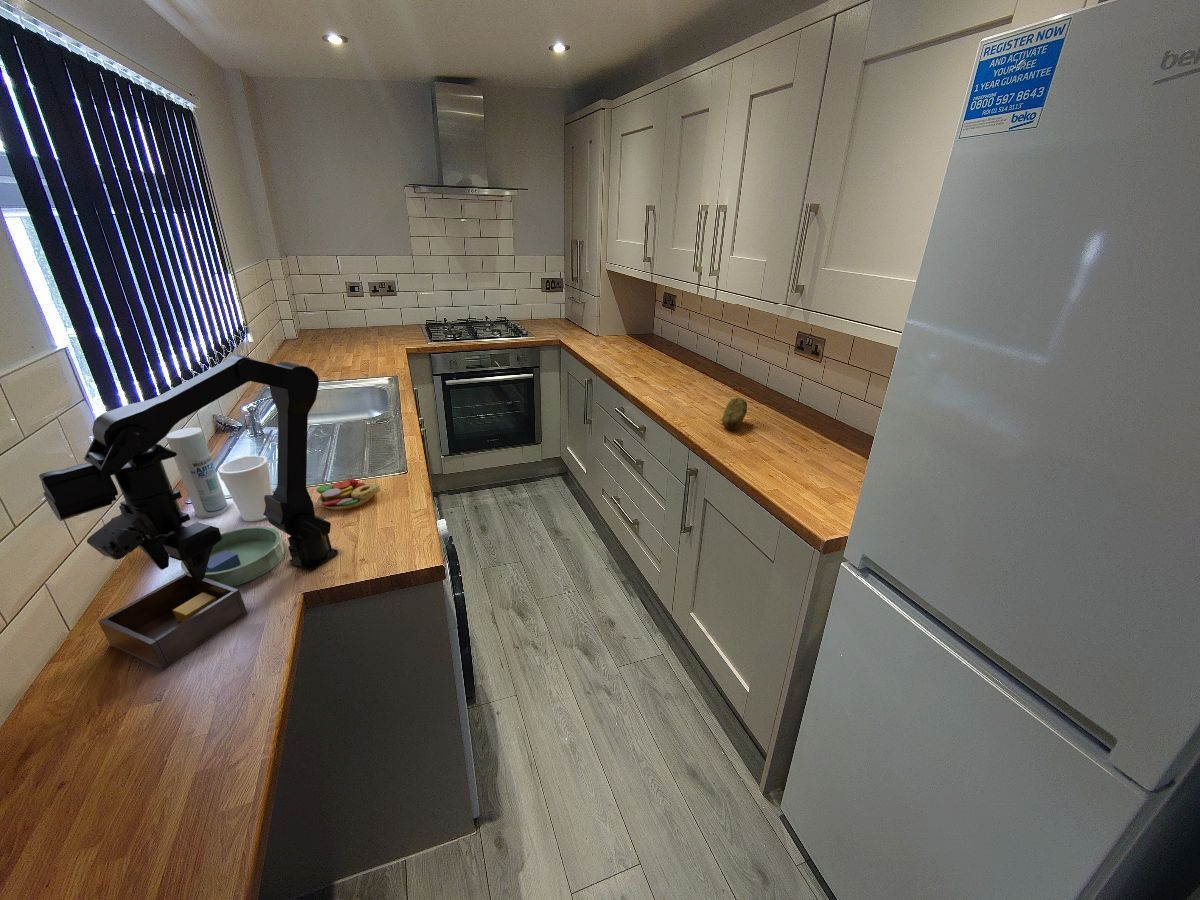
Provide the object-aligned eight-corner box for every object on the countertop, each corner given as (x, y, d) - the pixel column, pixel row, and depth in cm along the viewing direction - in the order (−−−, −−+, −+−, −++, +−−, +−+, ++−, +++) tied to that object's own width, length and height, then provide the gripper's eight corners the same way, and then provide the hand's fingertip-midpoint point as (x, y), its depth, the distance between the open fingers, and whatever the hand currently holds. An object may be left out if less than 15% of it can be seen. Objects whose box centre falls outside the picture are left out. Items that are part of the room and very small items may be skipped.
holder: (197, 594, 96) (188, 571, 94) (247, 613, 91) (239, 589, 89) (110, 645, 84) (97, 621, 82) (162, 670, 80) (150, 644, 78)
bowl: (248, 534, 114) (244, 520, 113) (302, 550, 108) (298, 535, 107) (167, 578, 100) (161, 563, 99) (224, 598, 95) (218, 583, 93)
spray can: (212, 503, 127) (185, 426, 119) (235, 505, 126) (209, 428, 118) (188, 516, 122) (157, 437, 113) (212, 519, 120) (182, 439, 112)
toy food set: (387, 498, 128) (384, 486, 127) (332, 519, 119) (329, 507, 118) (362, 481, 137) (359, 470, 135) (309, 500, 128) (305, 489, 126)
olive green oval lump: (711, 427, 168) (713, 404, 165) (731, 417, 177) (733, 394, 173) (735, 433, 163) (737, 409, 160) (753, 422, 172) (756, 399, 168)
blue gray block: (228, 560, 105) (225, 550, 104) (241, 564, 103) (237, 554, 102) (203, 574, 100) (199, 564, 99) (215, 579, 99) (211, 568, 98)
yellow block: (207, 602, 93) (202, 591, 92) (220, 607, 92) (216, 596, 91) (177, 621, 89) (172, 609, 88) (190, 626, 87) (185, 615, 86)
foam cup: (240, 509, 124) (223, 459, 119) (284, 501, 128) (269, 452, 123) (232, 528, 116) (213, 476, 111) (279, 519, 120) (263, 468, 114)
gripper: (48, 504, 77) (91, 590, 83) (124, 529, 70) (164, 620, 77) (134, 473, 86) (166, 552, 93) (208, 492, 80) (238, 576, 86)
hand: (182, 574), depth 87 cm, fingers open, 9 cm apart
